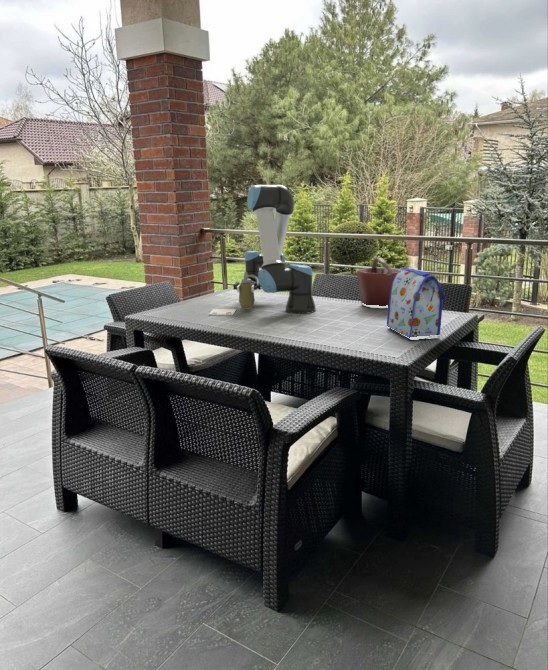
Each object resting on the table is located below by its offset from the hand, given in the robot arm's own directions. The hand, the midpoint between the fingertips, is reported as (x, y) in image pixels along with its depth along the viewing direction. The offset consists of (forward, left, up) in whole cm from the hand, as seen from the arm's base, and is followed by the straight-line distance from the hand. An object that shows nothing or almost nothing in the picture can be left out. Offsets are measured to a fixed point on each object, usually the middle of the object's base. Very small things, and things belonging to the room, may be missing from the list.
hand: (245, 289), depth 262 cm
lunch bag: (-76, +38, -13) cm, 85 cm away
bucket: (-67, -20, -12) cm, 71 cm away
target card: (+12, -2, -12) cm, 17 cm away
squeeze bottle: (0, -5, -10) cm, 11 cm away
